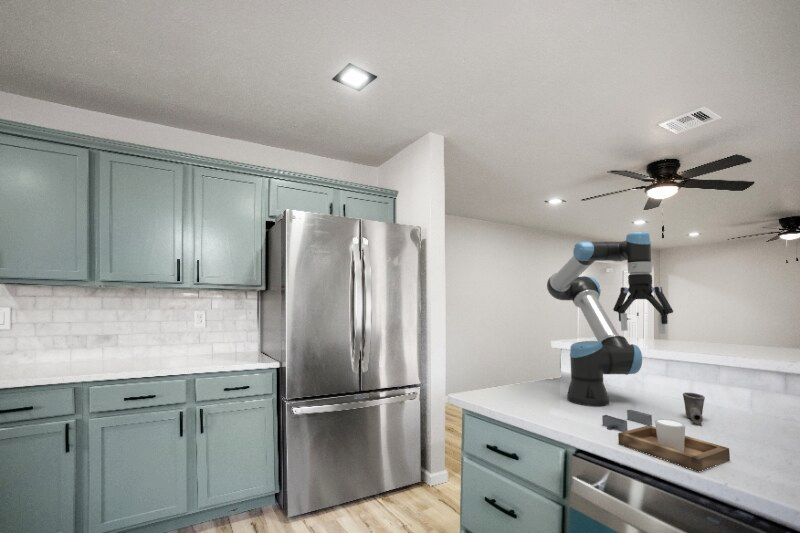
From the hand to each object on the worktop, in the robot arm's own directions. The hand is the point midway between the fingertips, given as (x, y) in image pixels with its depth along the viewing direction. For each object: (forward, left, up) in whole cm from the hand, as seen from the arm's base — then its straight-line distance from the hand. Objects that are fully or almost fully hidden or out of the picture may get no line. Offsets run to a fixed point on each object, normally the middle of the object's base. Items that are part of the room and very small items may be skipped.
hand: (642, 332), depth 141 cm
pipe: (+13, +6, -29) cm, 32 cm away
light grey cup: (+24, -30, -28) cm, 48 cm away
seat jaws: (+5, -19, -29) cm, 35 cm away
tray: (+24, -30, -29) cm, 48 cm away
